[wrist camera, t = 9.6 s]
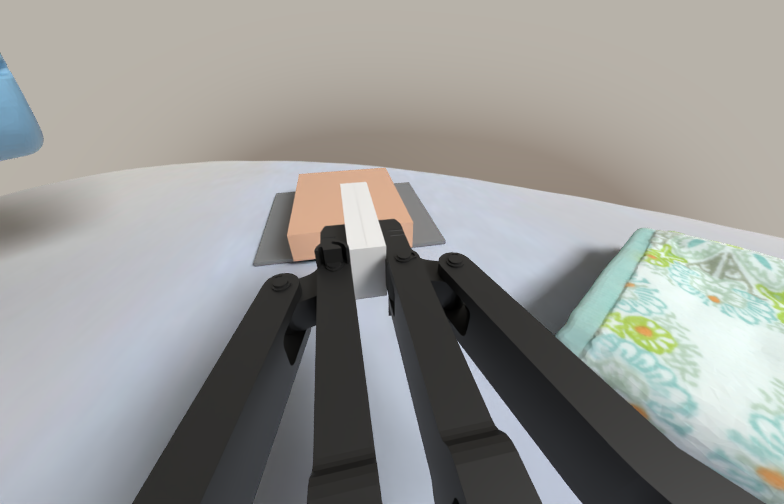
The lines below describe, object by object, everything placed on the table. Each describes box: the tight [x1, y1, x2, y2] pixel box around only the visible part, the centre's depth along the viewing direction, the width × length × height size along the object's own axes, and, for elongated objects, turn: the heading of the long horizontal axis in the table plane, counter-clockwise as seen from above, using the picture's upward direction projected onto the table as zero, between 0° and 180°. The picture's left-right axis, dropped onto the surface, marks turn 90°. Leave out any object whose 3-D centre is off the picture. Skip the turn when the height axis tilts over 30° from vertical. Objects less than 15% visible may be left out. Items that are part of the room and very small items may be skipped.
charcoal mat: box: [254, 182, 445, 266], centre depth 37 cm, size 20×17×1 cm
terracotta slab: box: [287, 168, 413, 261], centre depth 34 cm, size 12×3×16 cm
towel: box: [555, 228, 784, 504], centre depth 18 cm, size 18×21×5 cm
